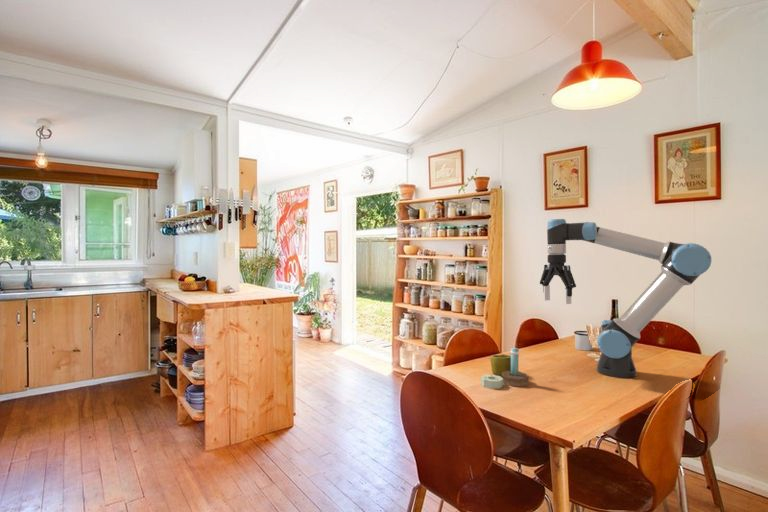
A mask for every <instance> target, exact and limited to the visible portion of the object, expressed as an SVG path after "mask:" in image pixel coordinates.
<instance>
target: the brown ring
mask: <svg viewBox="0 0 768 512" xmlns="http://www.w3.org/2000/svg"><path fill="white" fill-rule="evenodd" d="M501 378H503V385H506V386H509V387H517V388H518V387H519V388H521V387H525V386H528V385H529V377H528V373H525V372H522V371H519V370H518V376H511V371H505V372H502V376H501Z"/></svg>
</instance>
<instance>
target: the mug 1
mask: <svg viewBox="0 0 768 512" xmlns="http://www.w3.org/2000/svg"><path fill="white" fill-rule="evenodd" d="M490 364H491V366H490V367H491V372H492V375H496V376H500V377H502V372H505V371H511V354H504V353H503V354H500V353H498V354H497V353H496V354H492V355H491V356H490Z"/></svg>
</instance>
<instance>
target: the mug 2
mask: <svg viewBox="0 0 768 512" xmlns="http://www.w3.org/2000/svg"><path fill="white" fill-rule="evenodd" d="M573 333H574V348H575V349H576V350H578V351H585V352H588V351H589V352H590V351H592V350H593V344H592V345H591V343H590V340H589V336H588V334H587V331H586V330H575V331H573Z"/></svg>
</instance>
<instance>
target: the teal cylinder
mask: <svg viewBox="0 0 768 512" xmlns="http://www.w3.org/2000/svg"><path fill="white" fill-rule="evenodd" d="M519 354H520V349H519V348H518V347H511V348H510V355H511V376H518V371H519Z"/></svg>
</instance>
